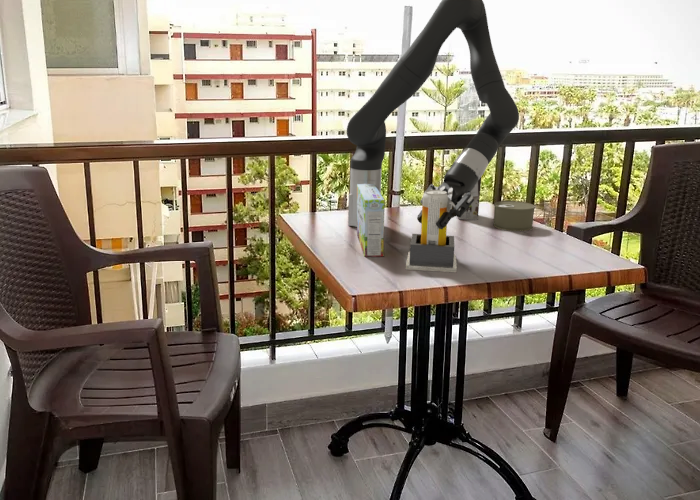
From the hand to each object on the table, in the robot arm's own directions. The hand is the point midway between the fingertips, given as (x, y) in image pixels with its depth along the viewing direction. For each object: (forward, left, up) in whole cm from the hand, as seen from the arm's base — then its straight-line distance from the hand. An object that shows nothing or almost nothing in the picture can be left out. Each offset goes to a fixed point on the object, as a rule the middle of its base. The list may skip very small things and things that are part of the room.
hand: (429, 224), depth 159 cm
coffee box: (+11, +55, -10) cm, 57 cm away
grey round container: (+25, +45, -11) cm, 52 cm away
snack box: (-16, +14, -11) cm, 24 cm away
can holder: (+1, +1, -10) cm, 10 cm away
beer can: (+1, +1, -7) cm, 8 cm away
